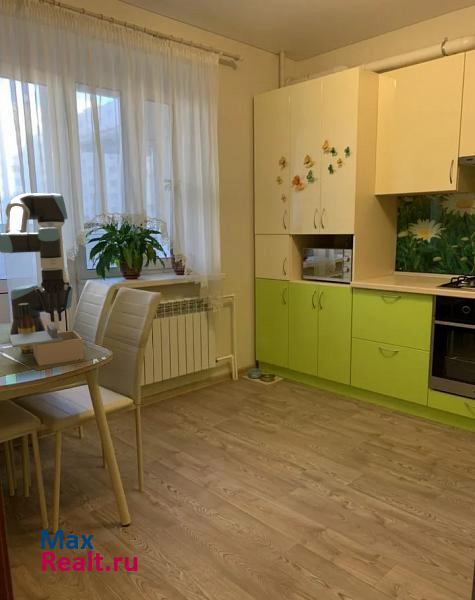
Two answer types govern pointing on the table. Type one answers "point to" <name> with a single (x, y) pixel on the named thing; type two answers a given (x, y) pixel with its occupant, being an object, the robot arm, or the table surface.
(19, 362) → the table surface
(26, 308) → the sauce bottle
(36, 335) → the mailer lid
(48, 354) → the mailer box
